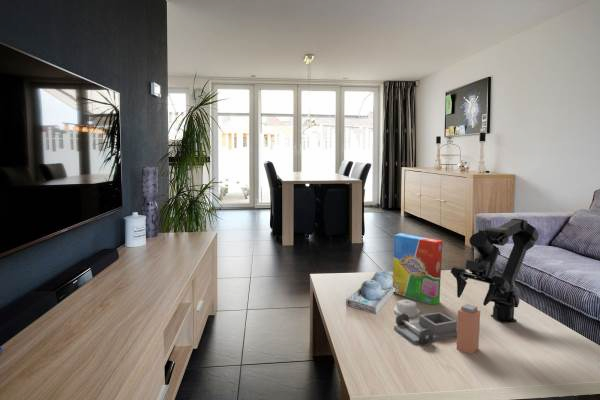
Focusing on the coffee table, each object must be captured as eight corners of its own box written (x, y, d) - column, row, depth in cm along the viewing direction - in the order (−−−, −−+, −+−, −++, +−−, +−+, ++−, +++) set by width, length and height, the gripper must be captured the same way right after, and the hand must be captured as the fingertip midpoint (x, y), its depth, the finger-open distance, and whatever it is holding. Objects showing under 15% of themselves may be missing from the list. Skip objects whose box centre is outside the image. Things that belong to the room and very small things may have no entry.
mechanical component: (394, 317, 152) (420, 318, 150) (394, 306, 152) (421, 307, 150) (393, 307, 162) (418, 309, 160) (393, 297, 161) (418, 298, 159)
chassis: (441, 319, 149) (442, 306, 149) (470, 335, 135) (470, 322, 135) (391, 327, 142) (392, 314, 142) (416, 346, 128) (417, 331, 128)
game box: (391, 293, 178) (393, 234, 175) (398, 290, 182) (400, 232, 179) (434, 305, 163) (436, 241, 160) (440, 302, 166) (442, 239, 163)
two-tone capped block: (463, 343, 130) (464, 302, 128) (478, 348, 126) (480, 306, 125) (456, 348, 127) (458, 306, 125) (472, 354, 123) (474, 311, 121)
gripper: (452, 245, 140) (435, 284, 135) (505, 255, 125) (489, 299, 121) (464, 258, 146) (449, 296, 142) (517, 270, 131) (501, 313, 127)
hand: (470, 301), depth 133 cm, fingers open, 9 cm apart
